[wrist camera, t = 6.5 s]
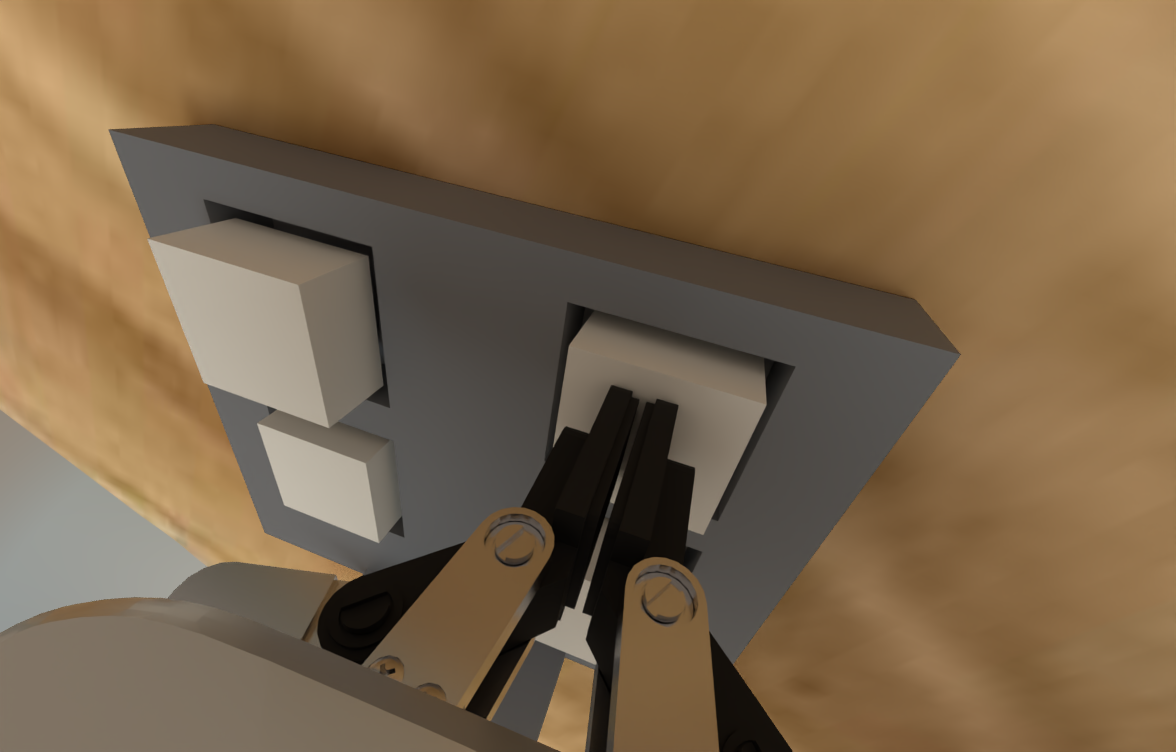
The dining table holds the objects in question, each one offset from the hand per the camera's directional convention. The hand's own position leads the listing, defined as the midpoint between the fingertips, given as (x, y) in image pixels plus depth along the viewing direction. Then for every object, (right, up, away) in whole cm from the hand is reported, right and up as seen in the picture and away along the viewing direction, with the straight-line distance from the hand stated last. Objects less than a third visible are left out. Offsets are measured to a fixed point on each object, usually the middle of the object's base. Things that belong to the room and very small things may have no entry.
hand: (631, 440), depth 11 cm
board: (-5, -1, +7) cm, 8 cm away
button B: (-10, +4, +3) cm, 11 cm away
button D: (-10, -1, +8) cm, 13 cm away
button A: (+1, +1, +2) cm, 2 cm away
